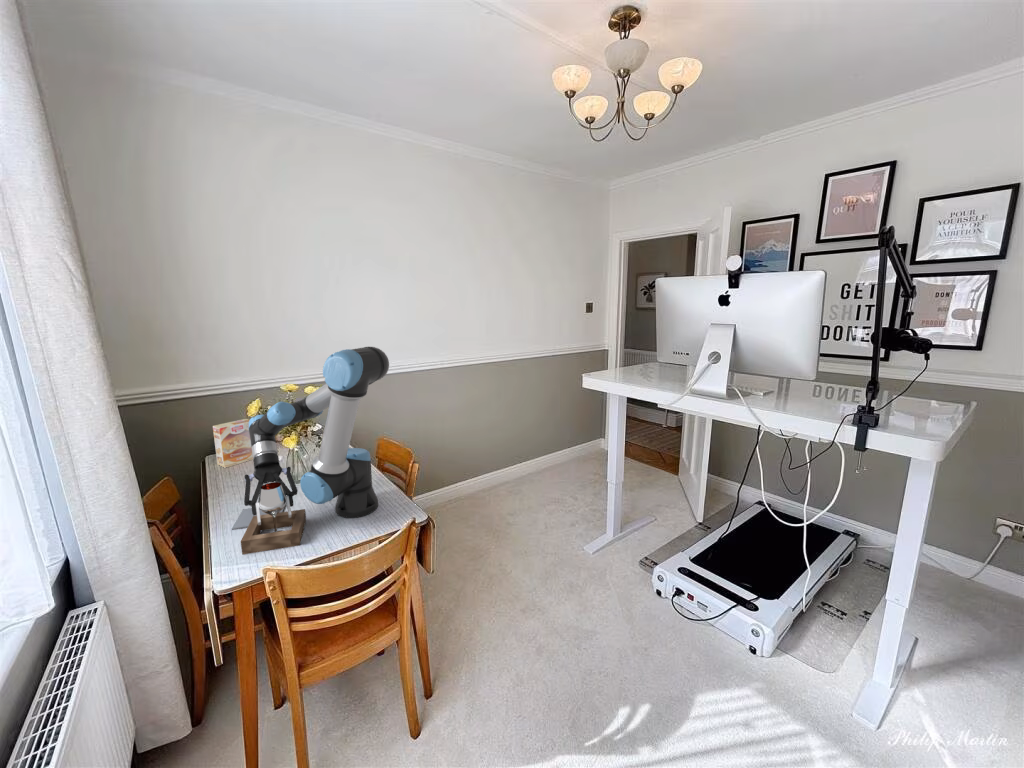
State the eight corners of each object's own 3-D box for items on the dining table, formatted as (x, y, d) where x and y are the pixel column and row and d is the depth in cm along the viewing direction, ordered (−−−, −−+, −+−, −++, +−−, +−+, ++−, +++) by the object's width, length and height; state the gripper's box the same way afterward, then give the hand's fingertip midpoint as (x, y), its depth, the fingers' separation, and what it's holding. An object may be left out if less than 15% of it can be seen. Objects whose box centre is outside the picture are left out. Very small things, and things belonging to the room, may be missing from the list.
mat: (285, 505, 159) (285, 503, 159) (278, 523, 146) (278, 521, 146) (243, 510, 154) (242, 509, 154) (232, 530, 141) (231, 528, 141)
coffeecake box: (224, 468, 192) (219, 428, 188) (217, 465, 196) (211, 425, 192) (257, 458, 205) (253, 420, 201) (250, 455, 208) (245, 418, 204)
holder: (306, 520, 148) (305, 508, 147) (299, 545, 133) (298, 532, 132) (254, 528, 143) (253, 516, 142) (242, 554, 128) (240, 541, 127)
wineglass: (294, 529, 142) (290, 480, 138) (282, 543, 134) (277, 491, 130) (270, 529, 142) (265, 480, 138) (256, 543, 134) (250, 491, 130)
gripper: (298, 455, 152) (309, 515, 142) (230, 468, 140) (237, 533, 130) (299, 446, 146) (311, 507, 137) (228, 458, 135) (235, 525, 125)
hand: (275, 519), depth 133 cm, fingers closed on wineglass, 8 cm apart
